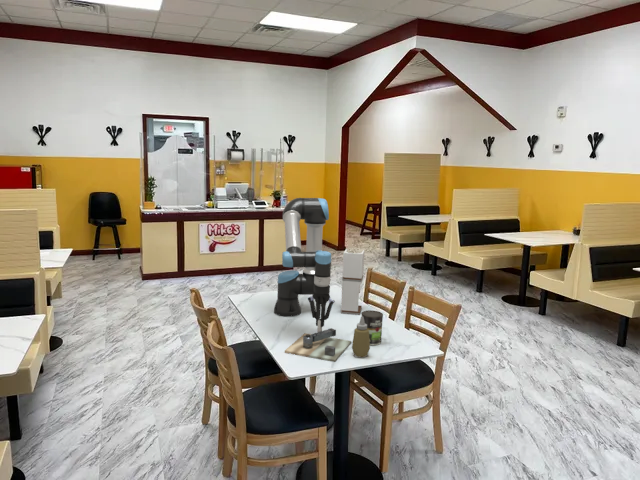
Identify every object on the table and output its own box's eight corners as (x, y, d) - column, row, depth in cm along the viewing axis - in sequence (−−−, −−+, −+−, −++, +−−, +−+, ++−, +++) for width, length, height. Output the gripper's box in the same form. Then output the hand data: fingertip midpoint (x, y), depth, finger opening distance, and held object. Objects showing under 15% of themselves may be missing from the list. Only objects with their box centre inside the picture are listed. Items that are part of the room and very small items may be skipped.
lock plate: (284, 352, 223) (284, 338, 222) (304, 335, 245) (305, 321, 244) (335, 362, 215) (335, 346, 213) (351, 342, 237) (351, 329, 236)
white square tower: (359, 315, 278) (362, 254, 272) (340, 313, 279) (343, 252, 273) (361, 309, 289) (364, 250, 283) (343, 307, 290) (345, 249, 284)
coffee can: (385, 343, 238) (387, 315, 235) (367, 346, 233) (369, 318, 230) (373, 336, 246) (375, 309, 244) (356, 339, 242) (357, 311, 239)
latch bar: (307, 349, 224) (307, 339, 223) (301, 346, 227) (301, 336, 227) (336, 339, 236) (336, 330, 236) (330, 337, 240) (330, 327, 239)
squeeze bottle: (350, 351, 227) (352, 313, 224) (367, 351, 227) (369, 313, 224) (352, 358, 219) (354, 319, 216) (370, 358, 219) (373, 319, 216)
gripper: (306, 284, 230) (303, 332, 234) (332, 288, 225) (329, 337, 229) (312, 280, 237) (310, 327, 241) (337, 284, 232) (335, 332, 236)
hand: (319, 332), depth 235 cm, fingers closed
